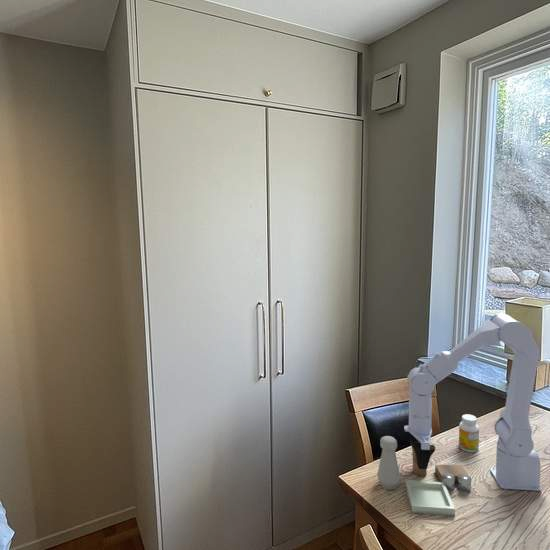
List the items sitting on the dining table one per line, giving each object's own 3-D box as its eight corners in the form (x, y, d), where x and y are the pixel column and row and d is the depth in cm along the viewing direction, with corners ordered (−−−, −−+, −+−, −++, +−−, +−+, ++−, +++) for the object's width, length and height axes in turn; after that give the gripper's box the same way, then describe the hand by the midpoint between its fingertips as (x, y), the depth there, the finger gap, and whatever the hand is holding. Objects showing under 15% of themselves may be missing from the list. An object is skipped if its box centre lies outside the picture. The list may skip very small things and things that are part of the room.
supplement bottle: (455, 442, 123) (456, 413, 122) (473, 442, 123) (474, 412, 122) (463, 452, 118) (464, 421, 117) (481, 452, 118) (482, 421, 116)
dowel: (424, 469, 111) (424, 442, 110) (428, 477, 107) (427, 449, 106) (411, 468, 111) (411, 441, 110) (414, 476, 108) (413, 448, 107)
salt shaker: (401, 493, 101) (401, 445, 100) (378, 491, 103) (377, 444, 101) (398, 479, 107) (399, 433, 105) (376, 477, 108) (376, 432, 107)
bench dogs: (468, 484, 104) (469, 474, 103) (472, 492, 101) (472, 481, 100) (440, 483, 105) (440, 472, 104) (443, 490, 102) (443, 480, 101)
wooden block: (461, 472, 109) (461, 464, 109) (469, 484, 104) (469, 476, 104) (435, 473, 110) (435, 464, 109) (441, 484, 105) (441, 476, 104)
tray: (443, 488, 102) (444, 482, 102) (454, 515, 93) (455, 508, 93) (405, 486, 104) (405, 480, 104) (412, 512, 95) (412, 505, 94)
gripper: (400, 400, 115) (400, 444, 117) (409, 425, 101) (409, 475, 102) (425, 401, 114) (425, 445, 115) (438, 426, 99) (437, 477, 101)
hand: (419, 459), depth 109 cm, fingers open, 7 cm apart
